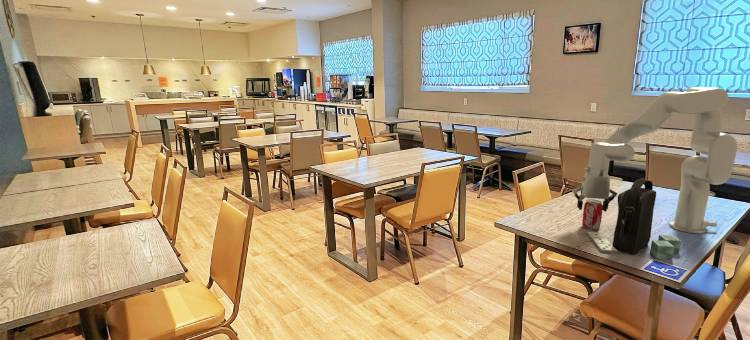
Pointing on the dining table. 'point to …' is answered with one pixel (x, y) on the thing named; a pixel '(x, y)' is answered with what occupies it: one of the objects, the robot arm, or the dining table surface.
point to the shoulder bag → (634, 217)
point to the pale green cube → (671, 241)
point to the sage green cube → (662, 249)
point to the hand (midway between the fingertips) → (591, 209)
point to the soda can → (592, 214)
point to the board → (601, 242)
